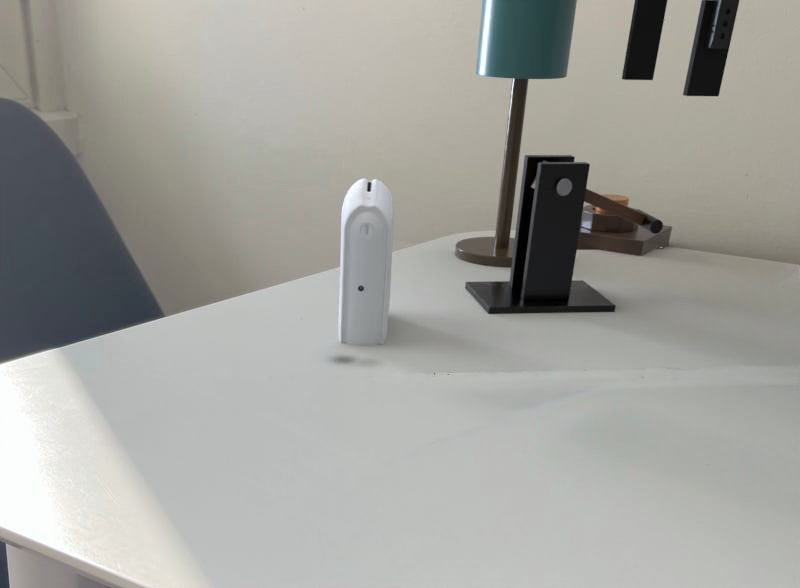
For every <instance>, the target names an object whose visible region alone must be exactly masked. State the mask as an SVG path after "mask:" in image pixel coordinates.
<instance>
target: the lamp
mask: <svg viewBox="0 0 800 588" xmlns="http://www.w3.org/2000/svg"><path fill="white" fill-rule="evenodd" d="M577 2H578V0H482V2H481V14H480V25H479V34H478V45H477V46H478V47H477V58H476V67H475V74H476V75H478V76H482V77H489V78H499V79H511V89H510V97H509V105H508V115H507V124H506V132H505V144H504V151H503V160H502V170H501V178H500V179H501V180H500V189H499V197H498V206H497V216H496V225H495V233H494V236H478V237H477V236H476V237H470V238H469V237H468V238H463V239H461V240H459V241H457V242H456V243H455V246H454V247H455V248H454V256H455V257H456V258H457V259H458V260H461V261H463V262H466V263H470V264H474V265H480V266H486V267H495V268H511V266H512V257H513V249H514V241H515V237H511V232H512V231H511V230H512V222H513V216H514V215H513V214H514V206H515V197H516V190H517V189H516V187H517V181H518V171H519V164H520V163H519V162H520V156H521V155H520V154H521V146H522V139H523V138H522V137H523V131H524V130H523V129H524V120H525V113H526V112H525V111H526V104H527V95H528V86H529V80H555V79H557V80H558V79H565V78H567V77H568V69H569V63H570V62H569V61H570V54H571V47H572V39H573V34H574V33H573V31H574V27H575V26H574V25H575V18H576V11H577Z"/></svg>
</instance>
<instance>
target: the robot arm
mask: <svg viewBox="0 0 800 588" xmlns="http://www.w3.org/2000/svg"><path fill="white" fill-rule="evenodd" d="M667 4H668V0H634V4H633V9H632V15H631V21H630V27H629V34H628V40H627V44H626V51H625V57H624V64H623V68H622V74H621V80H625V81H654V75H655V71H656V64H657V59H658V55H659V49H660V43H661V37H662V32H663V27H664V21H665V16H666V12H667V11H666V10H667V6H668V5H667ZM739 4H740V0H701V2H700V7H699V13H698V17H697V23H696V27H695V32H694V38H693V42H692V47H691V52H690V57H689V58H690V59H689V61H688V62H689V63H688V68H687V72H686V77H685V82H684V87H683V92H682V96H686V97H719V96H720V93H721V92H720V91H721V87H722V82H723V79H724V73H725V69H726V68H725V67H726V64H727V59H728V56H729V55H728V54H729V50H730V46H731V41H732V36H733V33H734V28H735V23H736V20H737V19H736V18H737V14H738V9H739V6H740V5H739Z"/></svg>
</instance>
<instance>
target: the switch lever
mask: <svg viewBox="0 0 800 588" xmlns="http://www.w3.org/2000/svg"><path fill="white" fill-rule="evenodd" d="M542 162H547V161H544V160H543V161H542ZM536 175H537V174H536ZM535 183H536V177H535V179H534V181H533V183H532V186H531V188H533V189H535ZM602 195H603V194H600V193H598V192H596V191H593V190H591V189H588V188H586V193H585V199H584V203H587V204H588V205H594V206H596V207H598V208H600V209H603V210H605V211H607V212H610V213H612V214H614V215H617V216H619V217H621V218H624V219H626V220H628V221H631V222H633V223H635V224H637V225H639V226H640V227H642V228H644V229H646V230H648V231H650V232H651V233H653V234H657V233H659V232H660V231H661V230H662V228H663V225H664V223H663V221H662V220H661V219H659V218H656V217H655V216H653V215H651V214H649V213H647V212H646V211H643V210H641V209H638V208H634V209H632V208H633V207H630V206H629V205H628V206H625V205H623V204H621V203H619V202H616V201H614V200H612V199H609V198H607V197H605V196H602ZM635 209H636V210H635Z"/></svg>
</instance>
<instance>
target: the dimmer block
mask: <svg viewBox="0 0 800 588" xmlns="http://www.w3.org/2000/svg"><path fill="white" fill-rule="evenodd" d="M631 208H632V209H635V210H636V209H637V208H634V207H631ZM672 230H673V226H672V225H666V224H663V228H662V230H661V231H660V232H659V233H657V234H653V233H651V232H650V231H648V230H646V229H644V228H642V227H640V226H639V225H637V224H635V223H633V222H631V221H628V220H626V219H624V218H621V217H619V216H617V215H614V214H612V213H602V212H597V211H595V206H594V205H591V204H588V205H585V206H583V212H582V218H581V225H580V231H579V238H578V244H577V251H593V250H594V251H598V250H599V251H605V252H611V253H618V254H623V255H630V256H637V257H642V256H644V255H646V254H648V253H650V252H651V251H653V250H663V249H665V248H666V247H668V246H669V245H670V240H671V235H672ZM660 247H663V248H661V249H659V248H660Z"/></svg>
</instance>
